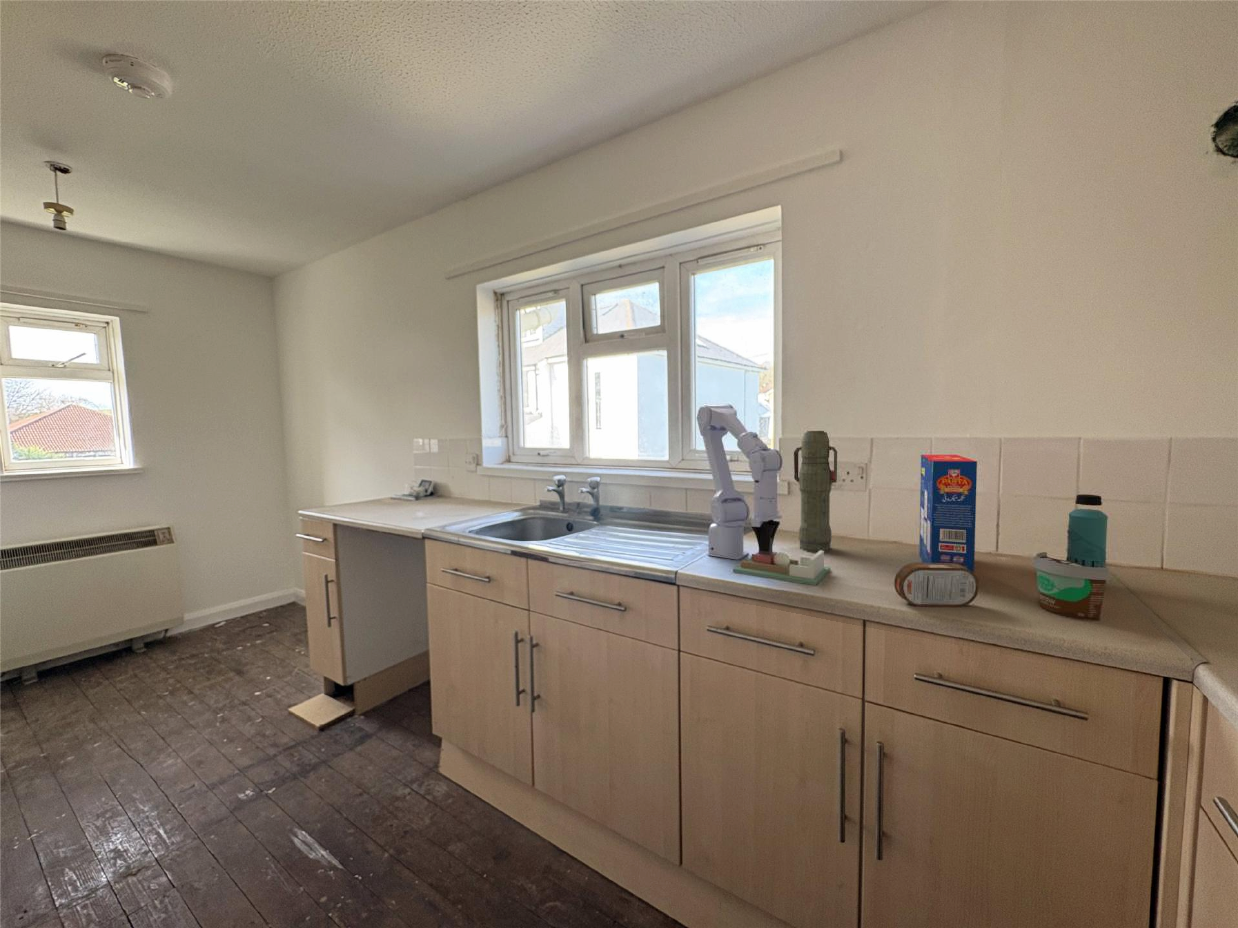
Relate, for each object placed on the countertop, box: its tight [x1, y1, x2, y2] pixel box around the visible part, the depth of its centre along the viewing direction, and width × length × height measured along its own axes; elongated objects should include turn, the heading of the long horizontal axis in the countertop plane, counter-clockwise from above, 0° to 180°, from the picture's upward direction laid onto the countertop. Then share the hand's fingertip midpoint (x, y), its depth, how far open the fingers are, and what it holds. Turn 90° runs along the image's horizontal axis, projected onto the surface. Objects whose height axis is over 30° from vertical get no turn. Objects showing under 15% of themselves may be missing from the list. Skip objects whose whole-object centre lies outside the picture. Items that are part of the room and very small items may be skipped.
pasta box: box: [918, 454, 978, 574], centre depth 119 cm, size 28×8×28 cm, turn 153°
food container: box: [1031, 551, 1111, 621], centre depth 91 cm, size 12×6×10 cm, turn 5°
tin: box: [893, 562, 980, 608], centre depth 96 cm, size 15×3×8 cm, turn 84°
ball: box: [773, 551, 791, 567], centre depth 121 cm, size 4×4×4 cm
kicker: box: [754, 538, 778, 565], centre depth 123 cm, size 4×6×7 cm
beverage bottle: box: [1065, 493, 1109, 568], centre depth 106 cm, size 6×7×20 cm
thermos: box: [793, 430, 838, 553], centre depth 142 cm, size 9×12×35 cm
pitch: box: [732, 553, 831, 586], centre depth 121 cm, size 20×14×2 cm
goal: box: [789, 550, 825, 579], centre depth 117 cm, size 6×10×4 cm, turn 144°
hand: (765, 550), depth 123 cm, fingers closed on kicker, 2 cm apart
